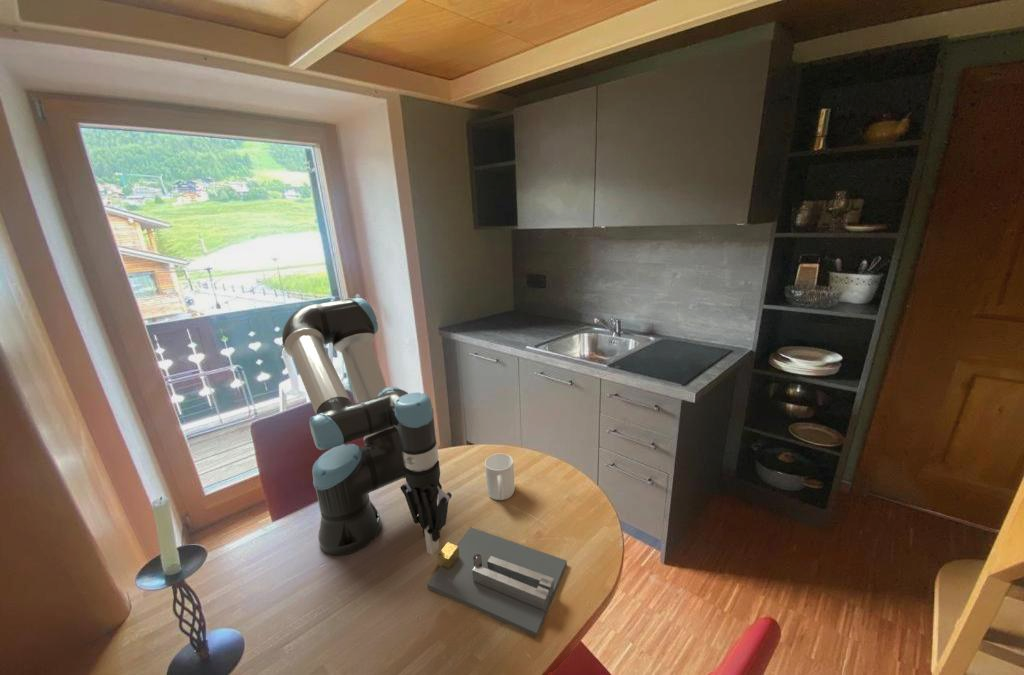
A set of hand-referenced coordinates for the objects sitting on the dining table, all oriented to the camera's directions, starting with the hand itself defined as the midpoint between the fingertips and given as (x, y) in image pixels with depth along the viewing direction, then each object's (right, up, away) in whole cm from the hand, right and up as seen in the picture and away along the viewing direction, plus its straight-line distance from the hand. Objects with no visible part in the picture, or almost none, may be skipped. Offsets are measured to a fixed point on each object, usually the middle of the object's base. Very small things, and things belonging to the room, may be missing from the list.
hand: (433, 549), depth 92 cm
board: (+16, -4, -4) cm, 17 cm away
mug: (+15, +4, +22) cm, 27 cm away
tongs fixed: (+18, -4, -9) cm, 20 cm away
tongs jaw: (+20, -3, -7) cm, 22 cm away
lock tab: (+4, -2, -1) cm, 4 cm away
